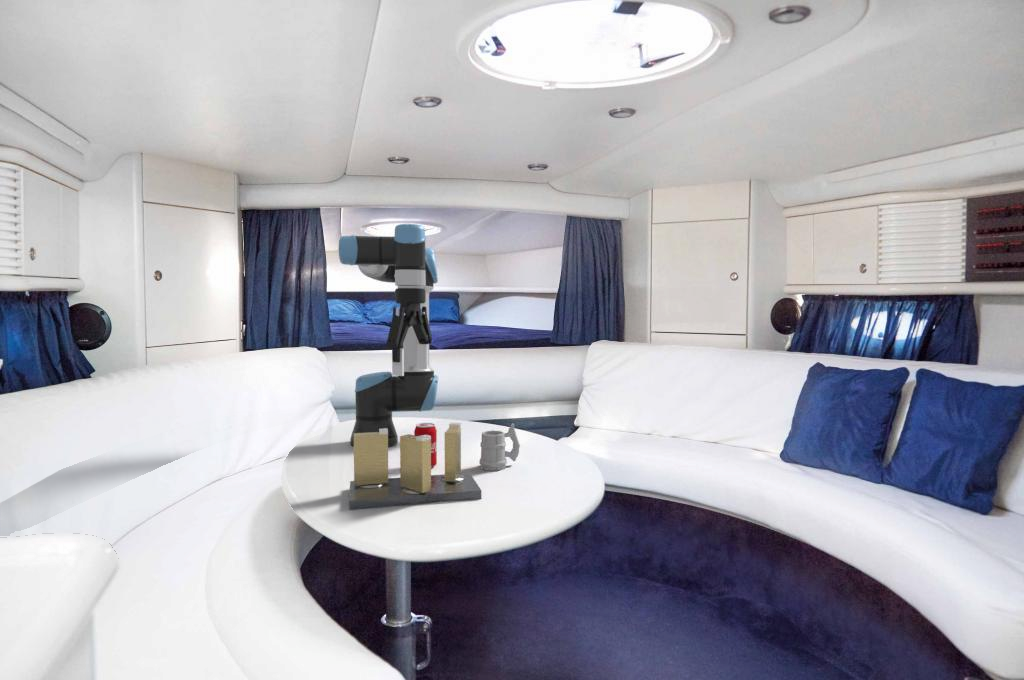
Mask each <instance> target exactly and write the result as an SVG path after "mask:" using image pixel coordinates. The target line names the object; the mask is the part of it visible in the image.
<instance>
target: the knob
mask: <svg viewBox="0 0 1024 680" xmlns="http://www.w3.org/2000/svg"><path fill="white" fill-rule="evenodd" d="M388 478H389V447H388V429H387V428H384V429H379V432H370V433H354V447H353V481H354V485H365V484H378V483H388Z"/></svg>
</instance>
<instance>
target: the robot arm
mask: <svg viewBox="0 0 1024 680" xmlns="http://www.w3.org/2000/svg"><path fill="white" fill-rule="evenodd" d="M338 258H339V262H340V263H341V264H342V265H346V266H357V267H358V269H359V271H360V272H361V274H363V275H364V276H365V277H368V278H370V279H372V280H375V281H379V282H382V283H383V282H384V283H391V284H392V283H394V285H395V287H397V288H395V289H394V302H395V303H396V304H400V305H399V306H397V307H396V306H394V307H393V308H392V319H391V323H390V327H389V330H388V331H389V332H388V336H387V341H386V347H387V349H391V364H392V365H391V369H392V371H378V372H370V373H366V374H362V375H360V376H358V377H357V378H356V379H355V389H354V393H355V422H354V426H353V429H352V431H351V435H350V439H349V440H350V442H349V443H350V446H351V447H353V448H354V433H370V432H379V429H384V428H387V429H388V448H389V447H392V446H395V445H397V444H398V440H399V439H398V438H399V437H398V433H397V430H396V427H395V424H394V421H393V412H424V411H425V412H426V411H427V412H428V411H432V410H433V409H434V408H435V405H436V402H437V401H436V399H437V392H438V386H439V385H438V382H439V375H436V374H435V369H433V367H432V366H431V365H430V345H431V344H432V342H433V337H432V333H431V328H430V293H431V292H432V291H433V290H434V284H437V283H439V282H438V281H439V279H438V272H437V271H438V270H437V263H436V256H435V252H434V250H433V249H432V248H429V247H426V228H425V227H424V226H423V225H422V224H421V225H420V224H413V223H402V224H401V223H400V224H397V225H395V228H394V236H367V235H363V236H362V235H355V234H352V235H342V236H340V238H339V240H338Z"/></svg>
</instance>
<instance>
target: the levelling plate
mask: <svg viewBox="0 0 1024 680" xmlns="http://www.w3.org/2000/svg"><path fill="white" fill-rule="evenodd" d="M348 498H349V502H348V506H349V510H350V511H351V510H360V509H363V510H364V509H374V508H376V509H377V508H387V507H388V508H389V507H396V506H397V507H398V506H410V505H420V504H434V503H444V502H445V503H446V502H456V501H457V502H458V501H459V502H460V501H468V500H471V501H472V500H480V499H481V500H482V489H481V487H480V485H478V483H477V481H476V480H475V478H474V477H473V476H472V474H471V472H461V473H460V474H459V476H458V478H457V479H456V481H445V473H444V474H433V475H432V474H431V490H430V491H427V492H424V493H421V492H418V491H415V490H412V489H409V488H406V487H403V486H401V481H400V477H388V483H378V484H365V485H354V480H351V481H349V497H348Z"/></svg>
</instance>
